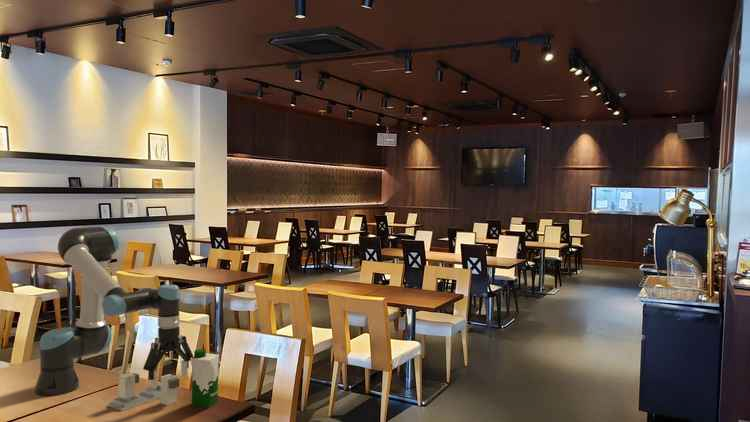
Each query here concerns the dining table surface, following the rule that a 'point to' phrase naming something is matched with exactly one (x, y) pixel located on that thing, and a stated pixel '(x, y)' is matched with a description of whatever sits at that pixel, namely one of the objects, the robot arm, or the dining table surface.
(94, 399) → the dining table surface
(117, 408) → the rail
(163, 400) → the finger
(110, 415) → the dining table surface
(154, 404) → the dining table surface
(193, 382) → the milk carton
